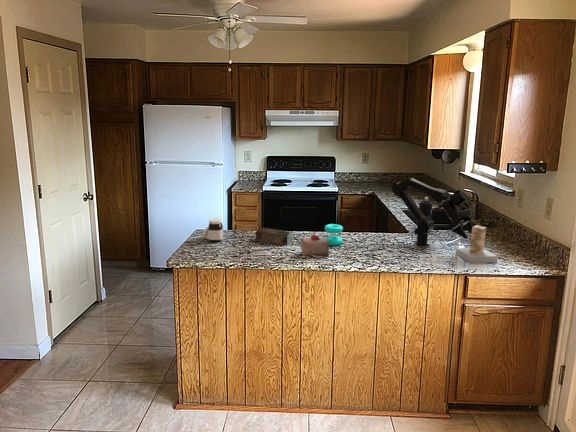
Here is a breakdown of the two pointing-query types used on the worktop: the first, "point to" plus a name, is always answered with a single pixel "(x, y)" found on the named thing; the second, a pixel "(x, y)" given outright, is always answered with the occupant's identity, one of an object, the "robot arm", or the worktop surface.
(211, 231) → the spread jar
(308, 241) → the food item
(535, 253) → the worktop surface
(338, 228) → the donuts
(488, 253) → the light grey slab
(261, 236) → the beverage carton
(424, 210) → the aerosol can
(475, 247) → the birch block
